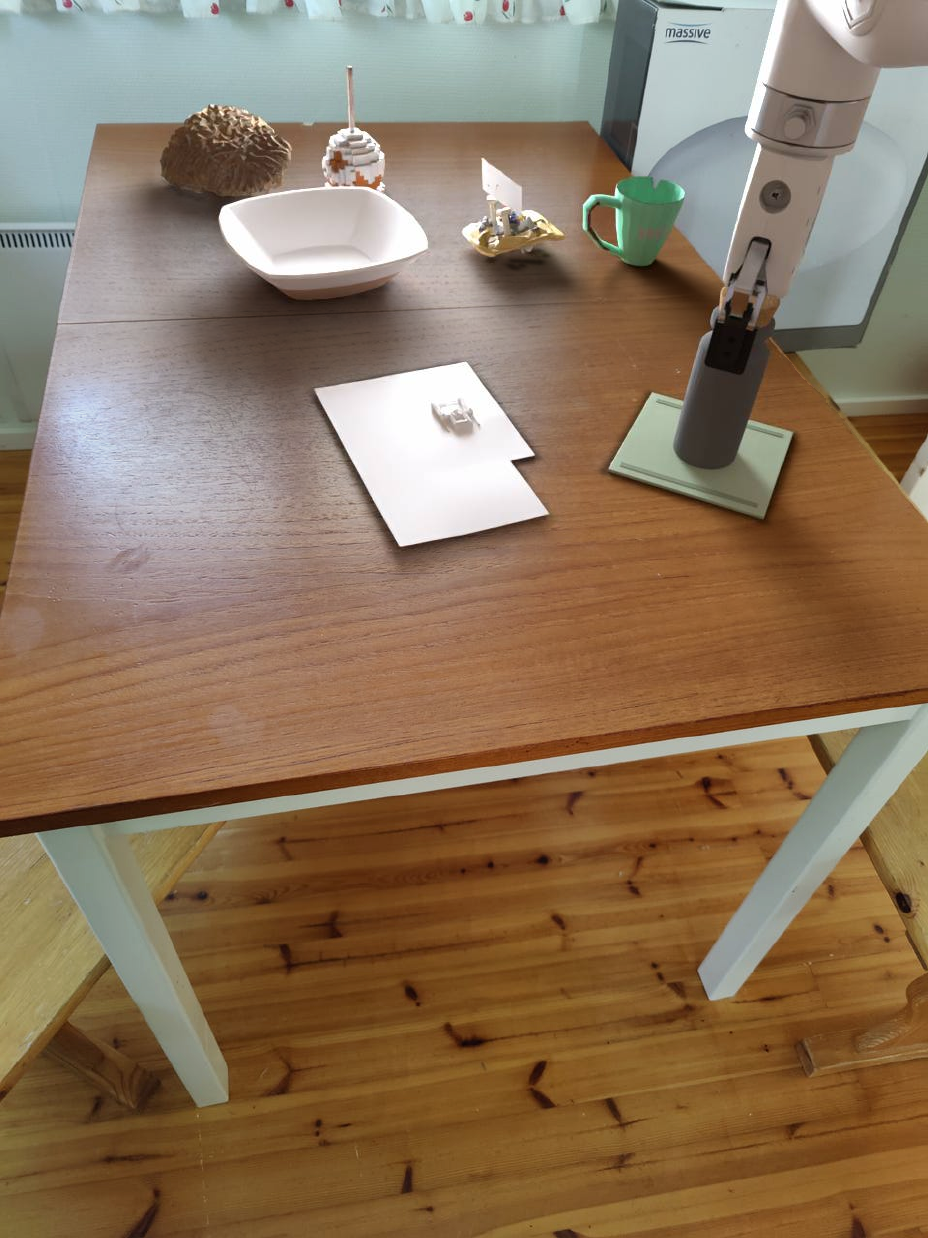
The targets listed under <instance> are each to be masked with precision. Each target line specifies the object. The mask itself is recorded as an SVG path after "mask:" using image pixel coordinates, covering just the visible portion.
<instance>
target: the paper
mask: <svg viewBox="0 0 928 1238" xmlns="http://www.w3.org/2000/svg"><path fill="white" fill-rule="evenodd" d="M313 391H314V393H315V394H316V396H317V397H318V401H319V402H320V404H321V406H322V408H323V410H324V411H325V413H326V414H327V417H328V418H329V420H330V422H331V424H332V426H333V428H334V429H335V432H336V434H337V435H338V438H339V439H340V441H341V443H342V445H343V447H344V449H345V451H346V452H347V454H348V456H349V458H350V460H351V462H352V464H353V465H354V467H355V469H356V471H357V472H358V474H359V476H360V478H361V480H362V481H363V483H364V486H365V487H366V489H367V491H368V493H369V495H370V496H371V498H372V500H373V503H374V504H375V505H376V508H377V509H378V511H379V513H380V515H381V516H382V519H383V520H384V522H385V524H386V525H387V527H388V529H389V530H390V532H391V534H392V535H393V537H394V539H395V540H396V542H397V544H398V546H399V547H406V546H412V545H416V544H417V545H418V544H422V543H427V542H431V541H437V540H442V539H449V538H453V537H459V536H464V535H468V534H473V533H477V532H482V531H485V530H490V529H495V528H499V527H502V526H506V525H510V524H514V523H518V522H522V521H528V520H531V519H535V518H539V517H542V516H548V515H550V512H549V511H548V510H547V509H546V507H545V506H544V504H543V503H542V501H541V500H540V498H539V497H538V496H537V495H536V493H535V492H534V491H533V489H532V488H531V486H530V485H529V484H528V482H527V481H526V480H525V478H524V477H523V476H522V474H521V473H520V471H519V470H518V469H517V468H516V466H515V465H514V464H513V462H512V461H515V460H520V459H525V458H529V457H533V456H536V454H535V453H534V452H533V450H532V448H531V447H530V446H529V445H528V443H527V442H526V441H525V439H524V438H523V436H522V435H521V434H520V432H519V431H518V430H517V428H516V427H515V426H514V424H513V423H512V421H511V420H510V419H509V417H508V415H506V413H505V412H504V410H503V409H502V408H501V406H500V405H499V404H498V402H497V401H496V400H495V399H494V397H493V396H492V394H491V393H490V392H489V390H488V389H487V388H486V387H485V385H484V384H483V383H482V381H481V380H480V378H479V377H478V376H477V375H476V373H475V372H474V370H473V368H472V367H471V366H470V365H469V363H468V362H467V361H462V362H458V363H452V364H447V365H442V366H436V367H430V368H424V369H420V370H419V369H418V370H413V371H407V372H402V373H396V374H389V375H385V376H381V377H376V378H371V379H363V380H359V381H353V382H346V383H340V384H334V385H329V386H323V387H316V388H313Z"/></svg>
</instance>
